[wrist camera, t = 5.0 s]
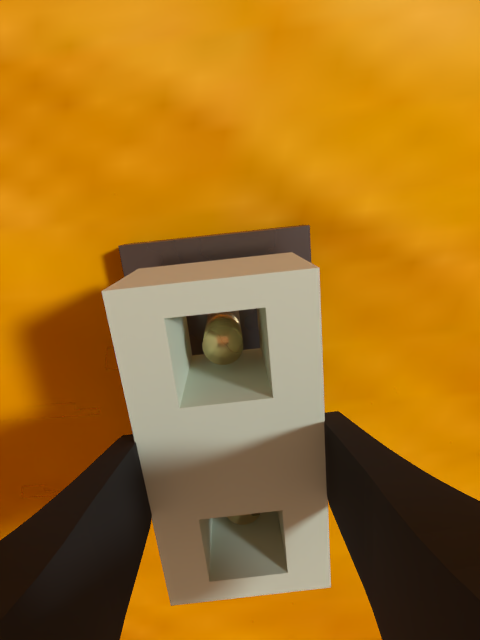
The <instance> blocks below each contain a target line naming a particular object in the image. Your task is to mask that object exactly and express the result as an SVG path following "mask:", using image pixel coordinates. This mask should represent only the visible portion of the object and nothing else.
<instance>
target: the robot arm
mask: <svg viewBox="0 0 480 640" xmlns="http://www.w3.org/2000/svg"><path fill="white" fill-rule="evenodd" d="M324 434H325V461H326V488H327V498H328V501H329V505H330V507H331V510H332V512H333V515H334V517H335V520H336V522H337V524H338V527H339V529H340V532H341V534H342V536H343V539H344V541H345V543H346V546H347V548H348V551H349V553H350V555H351V558H352V560H353V562H354V565H355V567H356V570H357V572H358V574H359V577H360V579H361V581H362V584H363V586H364V588H365V591H366V594H367V596H368V599H369V602H370V604H371V607H372V610H373V612H374V616H375V619H376V622H377V625H378V628H379V631H380V634H381V637H382V640H480V501H478V500H476V499H474V498H472V497H470V496H468V495H466V494H464V493H462V492H461V491H459V490H457V489H455V488H453V487H451V486H449V485H447V484H446V483H444V482H442V481H440V480H438V479H436V478H435V477H433V476H431V475H429V474H428V473H426V472H424V471H423V470H421V469H420V468H418V467H416V466H415V465H413V464H412V463H410V462H408V461H407V460H405V459H404V458H402V457H401V456H399V455H398V454H396V453H395V452H393V451H392V450H390V449H389V448H387V447H386V446H384V445H383V444H382V443H380V442H379V441H377V440H376V439H375V438H373V437H372V436H370V435H369V434H368V433H366V432H365V431H364V430H362V429H361V428H360V427H358V426H357V425H356V424H354V423H353V422H352V421H351V420H349V419H348V418H347V417H345V416H344V415H343V414H341V413H340V412H338V411H337V412H328V413H325V421H324ZM151 518H152V513H151V509H150V504H149V500H148V495H147V491H146V486H145V481H144V477H143V472H142V468H141V463H140V459H139V454H138V450H137V445H136V442H135V440H134V436H133V434H131V435H123V436H121V437H120V438H119V439H118V440H117V441H116V442H115V443H113V444H112V445H111V446H110V447H109V448H108V449H107V450H106V451H105V452H104V453H103V454H102V455H101V456H100V457H99V458H98V459H96V460H95V461H94V462H93V463H92V464H91V465H90V466H89V467H88V468H87V469H86V470H85V471H84V472H83V473H81V474H80V475H79V476H78V477H77V478H76V479H75V480H74V481H73V482H72V483H71V484H69V485H68V486H67V487H66V488H65V489H64V490H63V491H61V492H60V493H59V494H58V495H57V496H56V497H54V498H53V499H52V500H51V501H50V502H49V503H47V504H46V505H45V506H44V507H43V508H42V509H40V510H39V511H38V512H37V513H36V514H34V515H33V516H32V517H31V518H29V519H28V520H27V521H26V522H24V523H23V524H22V525H20V526H19V527H18V528H17V529H15V530H14V531H13V532H11V533H10V534H9V535H7V536H6V537H4V538H3V539H2V540H0V640H120V636H121V632H122V628H123V623H124V619H125V615H126V612H127V608H128V605H129V601H130V597H131V594H132V590H133V587H134V583H135V580H136V576H137V573H138V569H139V565H140V562H141V558H142V555H143V551H144V547H145V544H146V540H147V536H148V533H149V529H150V524H151Z"/></svg>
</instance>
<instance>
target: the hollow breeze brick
mask: <svg viewBox="0 0 480 640" xmlns="http://www.w3.org/2000/svg"><path fill="white" fill-rule="evenodd" d="M102 296H103V300H104V305H105V310H106V314H107V319H108V323H109V328H110V332H111V337H112V341H113V346H114V350H115V355H116V359H117V364H118V368H119V373H120V377H121V382H122V386H123V391H124V395H125V400H126V404H127V409H128V413H129V418H130V422H131V427H132V431H133V436H134V440H135V442H136V445H137V450H138V454H139V459H140V463H141V468H142V472H143V477H144V481H145V486H146V491H147V495H148V500H149V504H150V509H151V513H152V522H153V526H154V531H155V535H156V540H157V544H158V549H159V553H160V558H161V562H162V567H163V571H164V576H165V581H166V585H167V590H168V594H169V599H170V603H171V605H180V604H189V603H198V602H206V601H215V600H224V599H233V598H242V597H250V596H259V595H268V594H277V593H285V592H294V591H303V590H312V589H320V588H329V587H331V576H330V548H329V521H328V498H327V488H326V461H325V434H324V421H325V411H324V384H323V356H322V329H321V301H320V274H319V267H317V266H315V265H314V264H312V263H310V262H308V261H307V260H305V259H303V258H301V257H300V256H298V255H296V254H294V253H292V252H289V253H279V254H270V255H261V256H251V257H242V258H233V259H224V260H214V261H205V262H196V263H186V264H177V265H168V266H158V267H149V268H140V269H137V270H135V271H134V272H132V273H130V274H129V275H127V276H126V277H124V278H122V279H121V280H119V281H117V282H116V283H114V284H112V285H111V286H109V287H107V288H106V289H104V290H103V291H102ZM256 308H257V316H258V327H259V338H260V348H257V349H248V350H243V351H242V354H241V355H240V357H239V358H238V359H237V360H236V361H234V362H233V363H230V364H227V365H219V364H215V363H213V362H211V361H210V360H209V359H208V358H207V357H206V356H205V354H202V355H193V356H192V350H191V344H190V337H189V331H188V324H187V318H186V316H191V315H201V314H210V313H219V312H228V311H238V310H247V309H256ZM254 513H260V515H259V517H258V518H257V519H256V520H255V521H254V522H252V523H249V524H245V525H240V524H236V523H233V522H232V521H230V520H229V519H228V517H227V516H236V515H245V514H254Z"/></svg>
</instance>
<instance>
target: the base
mask: <svg viewBox="0 0 480 640" xmlns="http://www.w3.org/2000/svg"><path fill="white" fill-rule="evenodd" d="M119 251H120V257H121V262H122V267H123V272H124V277H126V276H127V275H129V274H130V273H132V272H134V271H135V270H137V269H140V268H149V267H158V266H168V265H177V264H186V263H196V262H205V261H214V260H224V259H233V258H242V257H251V256H261V255H270V254H279V253H289V252H292V253H294V254H296V255H298V256H300V257H301V258H303V259H305V260H307V261H308V262H310V263H311V249H310V227H309V225H299V226H289V227H280V228H271V229H261V230H252V231H243V232H233V233H224V234H215V235H205V236H196V237H187V238H177V239H168V240H159V241H149V242H140V243H131V244H124V245H120V246H119ZM186 318H187V324H188V331H189V337H190V344H191V350H192V356H193V355H202V354H205V356H206V357H207V358H208V359H209V360H210V361H211V362H213V363H215V364H219V365H227V364H230V363H233V362H234V361H236V360H237V359H238V358H239V357H240V355H241V354H242V351H243V350H248V349H257V348H260V338H259V327H258V316H257V308H256V309H247V310H238V311H228V312H219V313H210V314H201V315H191V316H186ZM259 515H260V513H254V514H245V515H236V516H227V517H228V519H229V520H230V521H232V522H233V523H236V524H240V525H245V524H249V523H252V522H254V521H255V520H256V519H257V518H258V517H259Z"/></svg>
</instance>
